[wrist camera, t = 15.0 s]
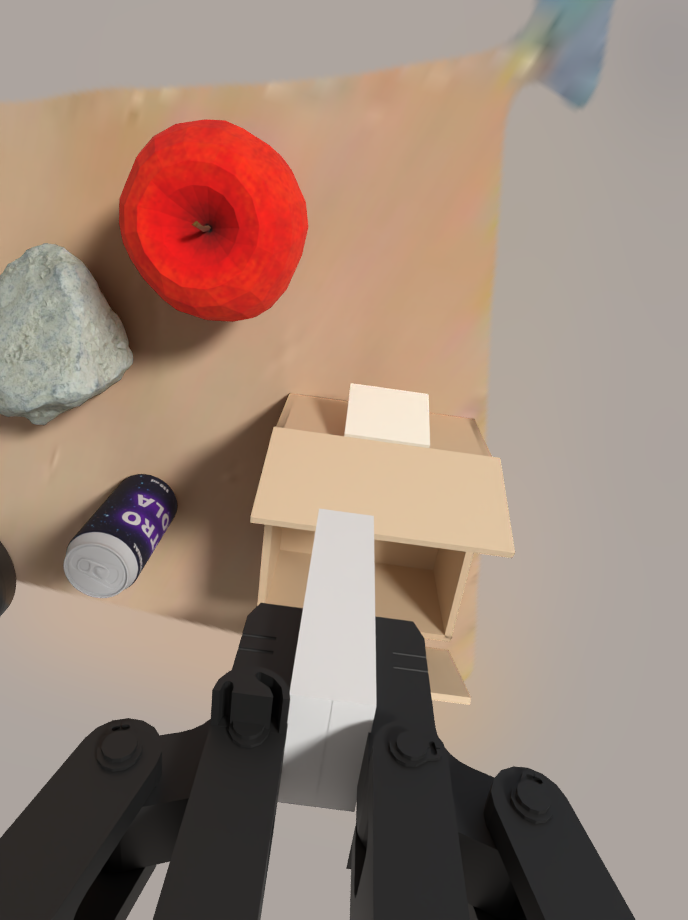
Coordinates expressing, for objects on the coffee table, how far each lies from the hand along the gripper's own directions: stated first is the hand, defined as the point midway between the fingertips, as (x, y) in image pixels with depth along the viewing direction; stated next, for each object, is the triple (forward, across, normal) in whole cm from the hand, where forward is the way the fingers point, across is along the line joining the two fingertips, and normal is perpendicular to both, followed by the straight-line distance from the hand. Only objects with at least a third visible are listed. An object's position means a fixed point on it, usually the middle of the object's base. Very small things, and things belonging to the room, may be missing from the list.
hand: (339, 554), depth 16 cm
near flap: (+23, +3, -7) cm, 24 cm away
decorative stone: (+35, -23, -4) cm, 42 cm away
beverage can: (+35, -17, -19) cm, 43 cm away
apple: (+35, -10, +6) cm, 37 cm away
